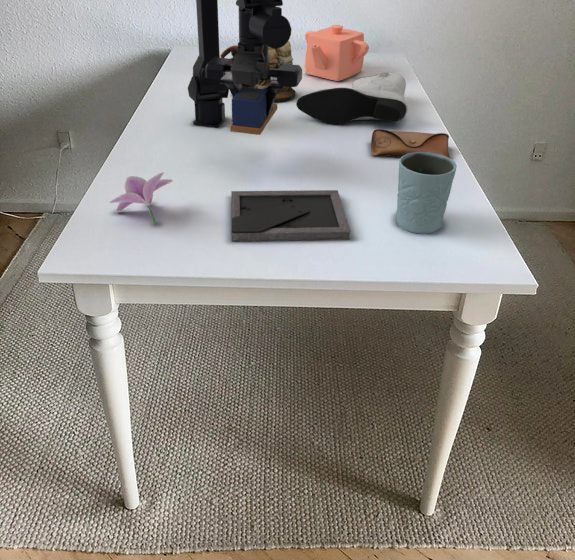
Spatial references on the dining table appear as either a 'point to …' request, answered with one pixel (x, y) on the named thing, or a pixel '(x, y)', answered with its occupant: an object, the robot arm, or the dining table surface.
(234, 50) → the pottery mug
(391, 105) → the cowboy boot
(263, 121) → the toy high-top shoe
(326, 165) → the dining table surface
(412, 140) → the sunglasses case
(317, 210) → the picture frame
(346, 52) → the teapot
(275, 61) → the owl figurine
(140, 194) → the lily
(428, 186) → the green embossed cup
